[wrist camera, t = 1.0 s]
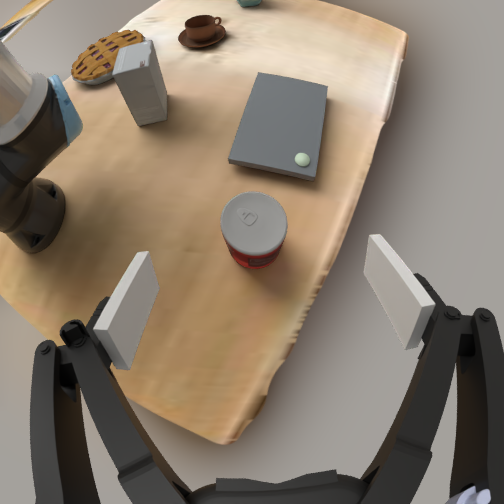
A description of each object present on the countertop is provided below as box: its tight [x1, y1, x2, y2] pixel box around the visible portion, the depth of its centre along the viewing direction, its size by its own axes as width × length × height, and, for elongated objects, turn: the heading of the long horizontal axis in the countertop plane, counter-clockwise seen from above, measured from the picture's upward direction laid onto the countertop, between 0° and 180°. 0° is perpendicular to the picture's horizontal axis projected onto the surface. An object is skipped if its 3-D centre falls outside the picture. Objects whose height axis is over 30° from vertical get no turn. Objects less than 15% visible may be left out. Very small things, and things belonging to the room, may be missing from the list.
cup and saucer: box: [178, 15, 226, 47], centre depth 52 cm, size 12×12×6 cm
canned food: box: [221, 192, 288, 269], centre depth 38 cm, size 8×8×11 cm
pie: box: [71, 30, 145, 85], centre depth 52 cm, size 22×22×5 cm
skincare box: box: [112, 40, 167, 126], centre depth 42 cm, size 8×7×16 cm
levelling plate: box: [228, 72, 328, 181], centre depth 46 cm, size 14×22×3 cm, turn 167°
